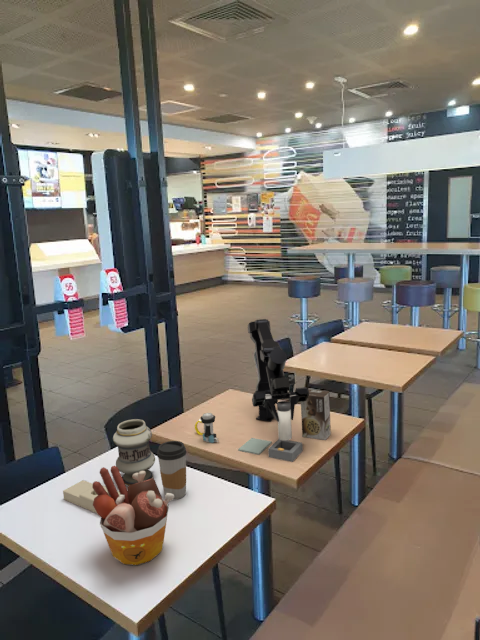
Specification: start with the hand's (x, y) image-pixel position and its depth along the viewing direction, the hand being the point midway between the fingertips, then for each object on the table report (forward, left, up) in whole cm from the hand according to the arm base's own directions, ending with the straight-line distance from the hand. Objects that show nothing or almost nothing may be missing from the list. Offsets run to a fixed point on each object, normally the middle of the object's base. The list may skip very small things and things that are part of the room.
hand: (285, 420), depth 164 cm
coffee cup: (+35, -20, -13) cm, 42 cm away
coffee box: (-19, +3, -13) cm, 23 cm away
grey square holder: (-1, -1, -12) cm, 12 cm away
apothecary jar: (+32, -37, -13) cm, 50 cm away
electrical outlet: (+48, -39, -13) cm, 63 cm away
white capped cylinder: (-1, -1, -7) cm, 7 cm away
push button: (0, -30, -13) cm, 32 cm away
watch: (-4, -36, -13) cm, 38 cm away
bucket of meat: (+60, -13, -13) cm, 63 cm away
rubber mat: (-2, -13, -12) cm, 18 cm away
